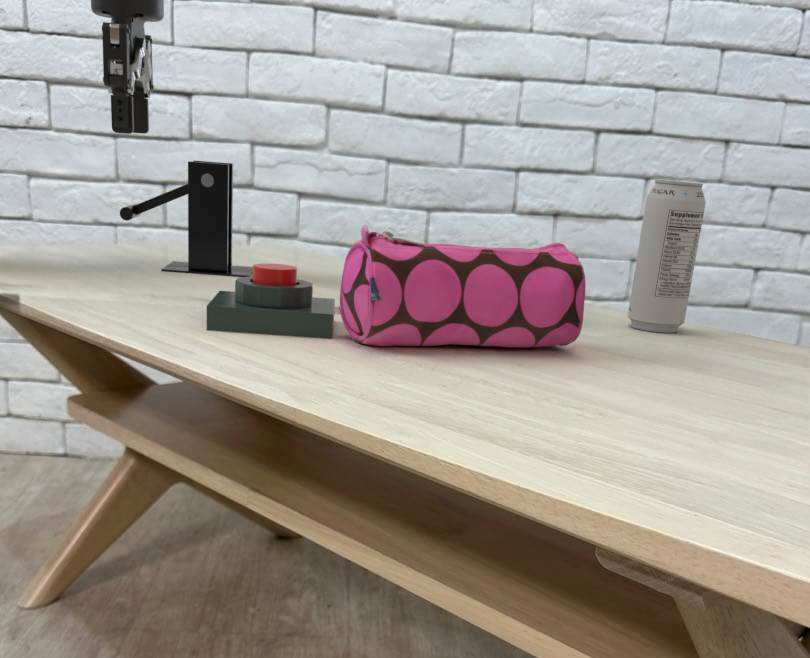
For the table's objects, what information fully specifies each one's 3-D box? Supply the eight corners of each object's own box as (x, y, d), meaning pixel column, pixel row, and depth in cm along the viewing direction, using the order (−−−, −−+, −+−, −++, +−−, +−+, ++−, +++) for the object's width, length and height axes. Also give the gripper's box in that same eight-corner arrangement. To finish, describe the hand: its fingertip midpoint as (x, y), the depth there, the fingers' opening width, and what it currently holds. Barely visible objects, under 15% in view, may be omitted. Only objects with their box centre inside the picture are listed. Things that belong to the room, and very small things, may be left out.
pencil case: (365, 358, 82) (373, 231, 78) (331, 334, 90) (337, 219, 86) (591, 358, 89) (608, 242, 85) (540, 336, 98) (554, 230, 94)
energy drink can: (660, 323, 112) (684, 181, 106) (694, 333, 106) (721, 185, 101) (615, 322, 109) (637, 178, 104) (647, 333, 104) (672, 182, 99)
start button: (250, 287, 88) (250, 267, 88) (254, 281, 92) (254, 262, 92) (295, 291, 89) (296, 270, 88) (297, 284, 92) (298, 265, 92)
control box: (206, 330, 87) (206, 284, 86) (219, 313, 96) (219, 271, 94) (332, 339, 88) (334, 293, 87) (334, 321, 96) (336, 279, 95)
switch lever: (125, 226, 112) (115, 205, 111) (134, 223, 117) (124, 202, 116) (224, 186, 111) (215, 164, 110) (229, 184, 115) (220, 163, 115)
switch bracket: (161, 280, 113) (159, 159, 108) (173, 271, 120) (172, 158, 115) (250, 286, 114) (252, 167, 109) (256, 277, 121) (258, 165, 116)
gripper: (105, -26, 111) (111, 131, 117) (72, -48, 98) (80, 130, 104) (173, -20, 112) (175, 136, 118) (149, -41, 99) (153, 136, 105)
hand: (131, 133), depth 111 cm, fingers open, 8 cm apart
